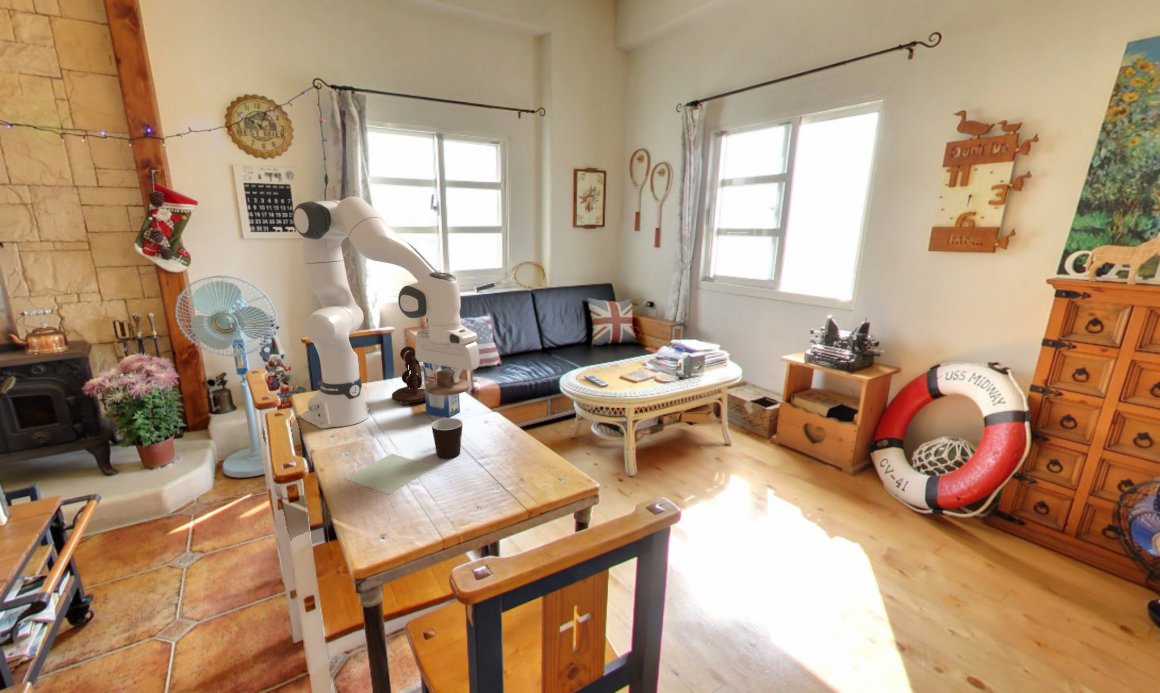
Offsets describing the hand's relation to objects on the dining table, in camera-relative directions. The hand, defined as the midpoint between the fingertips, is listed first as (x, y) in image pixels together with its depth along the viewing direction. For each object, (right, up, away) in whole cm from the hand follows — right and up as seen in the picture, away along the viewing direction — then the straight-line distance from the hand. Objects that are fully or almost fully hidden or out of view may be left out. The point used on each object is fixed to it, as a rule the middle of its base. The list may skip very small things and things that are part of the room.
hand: (447, 380), depth 136 cm
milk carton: (-11, -14, +35) cm, 40 cm away
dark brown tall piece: (-26, -11, +48) cm, 55 cm away
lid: (0, -2, +1) cm, 2 cm away
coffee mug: (-1, -22, +6) cm, 23 cm away
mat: (-13, -25, -7) cm, 29 cm away
